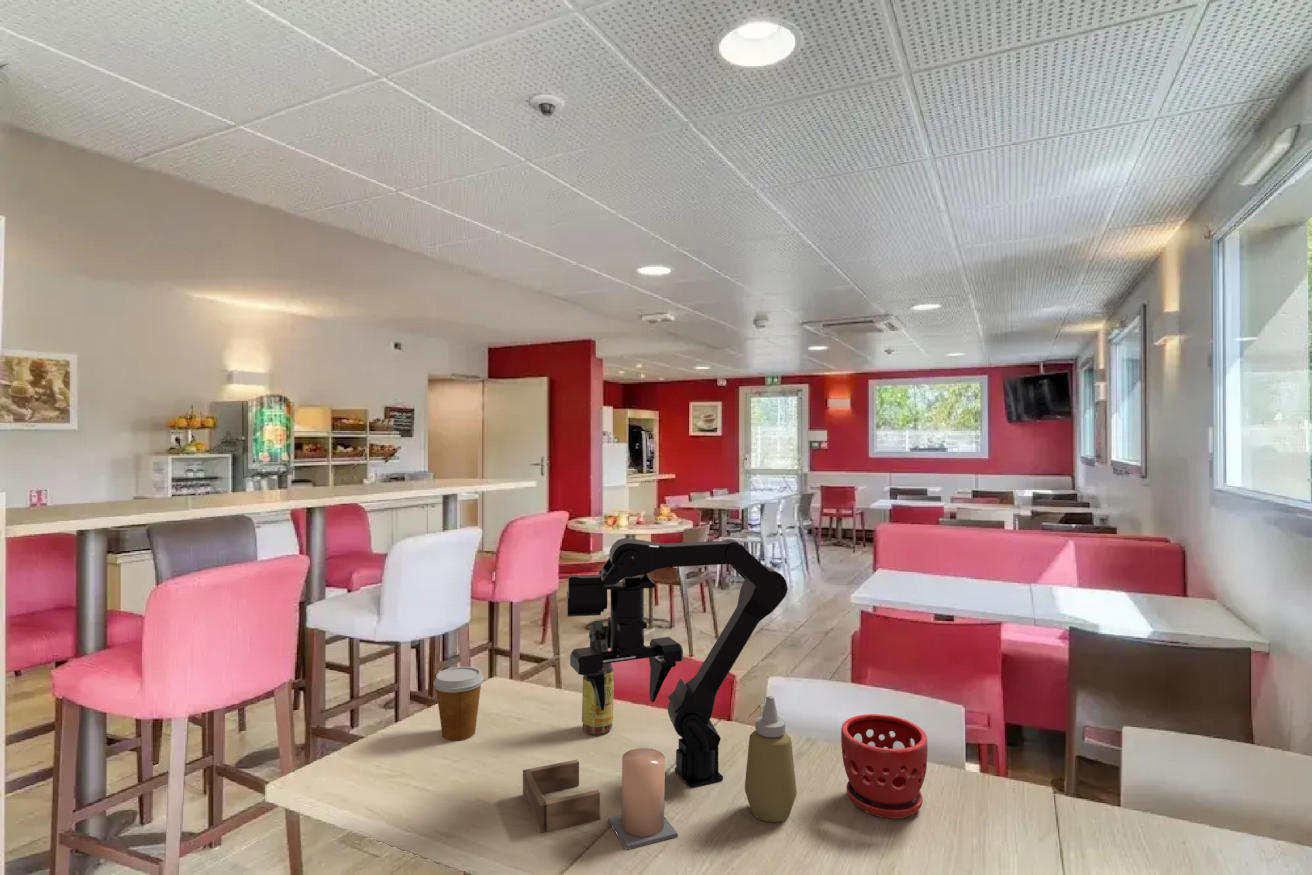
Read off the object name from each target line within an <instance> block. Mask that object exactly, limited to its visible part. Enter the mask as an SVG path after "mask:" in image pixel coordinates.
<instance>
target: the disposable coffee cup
mask: <svg viewBox="0 0 1312 875" xmlns="http://www.w3.org/2000/svg"><path fill="white" fill-rule="evenodd" d="M484 678H485V677H484V675H483V673H482V671H481V669H480V668H478V667H473V666H455V667H449V668H446V669H443V670H440V671H439V672H438V673H437V674H436V675H435V678H434V680H433V686H434V688H435V690H436V697H437V704H438V712H439V720H440V728H441V735H442V736H441V737H442V739H443V740H445V741H450V742H452V741H453V742H457V741H459V742H460V741H464V740H467V739H470V738H472V737H473V736H474V735H475V734H476V730H477V728H476V727H477V721H478V712H479V704H480V696H481V695H480V694H481V690H482V689H481V688H482V684H483V682H484Z"/></svg>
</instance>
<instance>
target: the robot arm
mask: <svg viewBox="0 0 1312 875" xmlns="http://www.w3.org/2000/svg"><path fill="white" fill-rule="evenodd" d="M608 556H609V557H608V559H607V561H606V562H605V563H604V565H603V566H602V567H601V568H600V570H599V571H598V573H597V575H596V574H595V575H594V574H593V575H592V574H591V575H578V574H569V575H568V578H567V579H568V581H567V591H566V617H569V618H570V617H590V616H591V617H593V616H601V614H602V613H604V612H605V610H607V609H608V591H609V590H610V616H609V617H607V618H608V619H607V625H604V622H603V621H595V622H591V623H590V627H589V629H590V630H589V631H590V635H591V640H592V642H593V641H601V646H605V647H606V648H608V649H610V650H608V651H606V652H598V651H597V650H596V649H595V648H594V647H590V646H587V647H580V648H573V649H572V651H571V653H570V655H569V656H570V657H569V666H570V667H572V668H573V670H574V671H575V672H576V673H577V674H578V675H580V676H585V677H586V678H587V679H589V680H590V682H591V684H592V687H593V690H594V693H595V696H596V699H597V702H598V705H599V708H600V709H601V711H603V710H604V705H605V685H604V684H605V681H604V673H602V672H601V671H600V670H601V669H602V668H603V664H606V663H611V664H612V663H613V664H614V663H619V662H626V661H634V660H640V659H648V661H649V666H650V673H649V675H650V676H649V690H648V691H649V692H648V693H649V700H650V702H652V703H655V701H656V700H657V697H658V694H659V692H660V690H661V689H662V687H663V684H664V681H665V679H666V677H668V675H669V672H670V671H671V669H672V668H675V667H676V666H677V662H678V663H679V662H682V661H683V660H684V649H683V647H682V645H681V643H679V642H678V641H675V639H674V638H671V637H670V636H666V637H658V638H651V640H650V642H649V645H645V629H647V627H648V626H647V625H648V624H647V621H645V589H656V583H655V582H654V581H653V579H651V578H650V577H649V576H648V574H650V573H652V572H655V571H658V570H660V569H665V568H677V567H678V568H679V567H697V566H715V565H716V566H717V565H719V566H720V565H730V566H731V567H732V569H733V570H734V571H735V572H736V573H737V574H738V575H740V576H741V578H743V582H742V585H741V587H740V591H739V595H738V600H737V604H736V607H735V609H734V611H733V612H732V614H731V616H730V618H729V619H728V620H727V623H726V625H725V626H724V628H723V630H721V633H720V634H719V636H718V638H717V639H716V641H715V643H714V645H713V646H712V648H711V649H710V651H709V653H708V654H707V656H706V657H705V659H704V661H703V663H702V665H701V666H700V667H699V669H698V671H697V672H696V673H695V674H696V675H694V676H693V677H692V678H691V679H690V680H688V681H687V682H686V681H684V680H683V679H682V678H679V680H678V682H677V683H676V686H675V688H674V690H673V691H672V693H671V694H669V695H668V696H667V698H668V702H669V703H668V704H667V713H668V716H669V719H670V722H671V724H672V726H673V728H674V730H675V732H676V733H677V736H679V737H680V738H678V748H676V751H675V767H674V772H675V773H676V774H677V775H678V777H680V779H682V780H683V782H684V783H685V784H686V785H687V786H688V787H689V788H692V787H693V788H694V787H697V786H702V785H706V784H710V783H711V784H712V783H714V782H715V783H716V782H719V781H723V780H724V776H723V775H722V774H721V772H719V745H720V742H721V736H720V734H719V733H718V731H717V730H716V728H715V726H714V724H713V722H712V720H711V718H712V715H713V712H714V708H715V702H716V698H717V693H718V691H719V689H720V688H721V686H722V685H723V683H724V681H725V680H726V678H727V676H728V674H729V673H730V671H731V669H732V668H733V666H734V665H735V663H736V661H737V660H738V658H739V656H740V655H741V653H742V651H743V650H744V648H745V646H746V645H747V643H748V642H749V640H750V637H751V636H752V634H753V632H754V631H755V630H756V628H757V626H758V624H759V623H760V622H761V621H762V620H764V619H765V618H767V616H769V615H770V614H771V613H773V612H774V611H775V610H776V608H778V606H779V605H780V604H781V603H782V601H783V600H784V599H785V598H786V595H787V593H788V589H789V588H788V585H787V580H786V579H785V577H784V575H782V574H781V573H779V572H778V571H776V570H774V569H773V568H771V567H769V566H767V565H765V564H762V563H761V561H759V560H758V559H757V558H756V557H754V555H752V554H751V553H750V552H749V551H748V550H747V549H746V548H745V546H744V545H743V544H742V543H740V542H738V541H737V540H734V539H732V538H728V539H724V540H715V541H714V540H712V541H710V540H707V541H692V542H690V541H689V542H688V541H687V542H668V543H662V542H661V543H660V542H653V541H649V540H644V539H637V538H636V539H635V538H630V537H623V538H620V539H618V540H616V541H615V542H614V543H613V544H612V545H611V547H610V549H609V554H608Z"/></svg>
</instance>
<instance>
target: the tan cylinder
mask: <svg viewBox="0 0 1312 875" xmlns="http://www.w3.org/2000/svg"><path fill="white" fill-rule="evenodd" d="M621 760H622V763H621V815H622V829H623V830H624V831H625V832H626V833H628V834H630V835H633V836H638V837H647V836H652V835H655V834H658V833H659V832H661V831H662V830H663V828H664V817H665V786H666V783H665V781H666V780H665V776H666V775H665V774H666V773H665V772H666V770H665V768H666V762H665V761H666V757H665V755H664V753H663V752H661V751H659V750H657V749H653V748H649V747H647V748H646V747H645V748H644V747H640V748H639V747H638V748H633V749H630V750H628V751H626V752H624V753H623V754H622V756H621Z"/></svg>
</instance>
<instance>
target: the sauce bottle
mask: <svg viewBox="0 0 1312 875" xmlns="http://www.w3.org/2000/svg"><path fill="white" fill-rule="evenodd" d="M588 632H589V633H588V638H589V647H594V648H595V649H596V650H597V651H598V652H606V651H609V648H606V647H605V646H601V641H593V642H592V640H591V635H590V630H589V631H588ZM600 671H601V672H602V673H604V681H605V684H604V685H605V705H604V710H603V711H601V709H600V708H599V705H598V702H597V699H596V696H595V693H594V690H593V687H592V684H591V682H590V680H589V679H587V678H586V677H585V676H584V675H582V696H581V698H582V700H581V703H582V705H581V709H582V710H581V722H582V731H583V732H584V733H586V734H588V735H591V736H592V735H593V736H594V735H598V736H599V735H605V734H607V733H609V732H610V731H611V730H612V729H613V723H614V697H615V696H614V692H615V691H614V689H615V687H614V686H615V681H614V680H615V679H614V677H615V671H614V668H613V665H612V663H606V664H603V668H602V669H601V670H600Z"/></svg>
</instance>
